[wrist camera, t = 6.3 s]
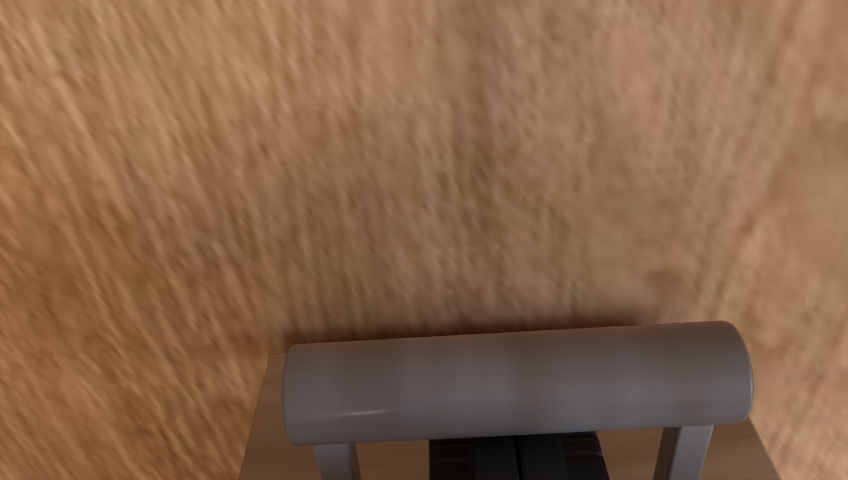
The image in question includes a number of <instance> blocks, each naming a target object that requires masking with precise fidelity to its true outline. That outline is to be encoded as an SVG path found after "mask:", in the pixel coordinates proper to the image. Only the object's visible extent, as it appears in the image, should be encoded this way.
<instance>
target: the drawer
mask: <svg viewBox="0 0 848 480" xmlns="http://www.w3.org/2000/svg"><path fill="white" fill-rule="evenodd" d="M753 395H754V382H753V372H752V366H751V361H750V357H749V353H748V350H747V347H746V345H745V342H744V340H743V338H742V336H741V334H740V333H739V331H738V330H737V329H736V328H735V327H734V326H733V325H732V324H731V323H728V322H725V321H706V322H688V323H670V324H652V325H634V326H615V327H597V328H579V329H561V330H543V331H525V332H507V333H489V334H470V335H452V336H434V337H416V338H398V339H380V340H362V341H344V342H326V343H307V344H295V345H293V346H291V347H290V348H289V350H288V352H287V353H279V354H271V355H270V356H269V360H268V364H267V368H266V372H265V376H264V380H263V384H262V388H261V392H260V396H259V399H258V403H257V407H256V411H255V415H254V419H253V423H252V427H251V431H250V435H249V439H248V443H247V447H246V451H245V455H244V459H243V463H242V467H241V471H240V475H239V479H238V480H429V440H431V439H451V438H471V437H490V436H510V435H530V434H550V433H569V432H589V431H597V437H598V438H599V442H600V446H601V449H602V456H603V457H604V460H605V464H606V467H607V471H608V475H609V478H610V480H782V479H781V477H780V475H779V473H778V471H777V469H776V467H775V465H774V463H773V461H772V460H771V458H770V456H769V454H768V452H767V450H766V448H765V446H764V444H763V442H762V440H761V438H760V436H759V435H758V433H757V431H756V429H755V427H754V425H753V423H752V421H751V419H750V417H749V414H750V411H751V408H752V403H753Z"/></svg>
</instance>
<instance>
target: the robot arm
mask: <svg viewBox="0 0 848 480" xmlns="http://www.w3.org/2000/svg"><path fill="white" fill-rule="evenodd" d="M429 480H610V478H609V475H608V471H607V467H606V464H605V460H604V457H603V456H602V449H601V446H600V442H599V438H598V437H597V431H589V432H569V433H550V434H530V435H510V436H490V437H471V438H451V439H431V440H429Z"/></svg>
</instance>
